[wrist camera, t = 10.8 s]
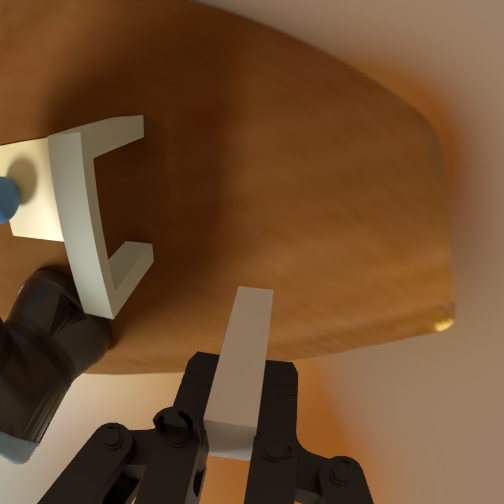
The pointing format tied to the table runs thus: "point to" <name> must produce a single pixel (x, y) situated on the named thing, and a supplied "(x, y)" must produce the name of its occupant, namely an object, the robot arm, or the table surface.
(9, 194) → the ball
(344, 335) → the table surface
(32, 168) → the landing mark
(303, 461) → the robot arm
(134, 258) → the bridge
